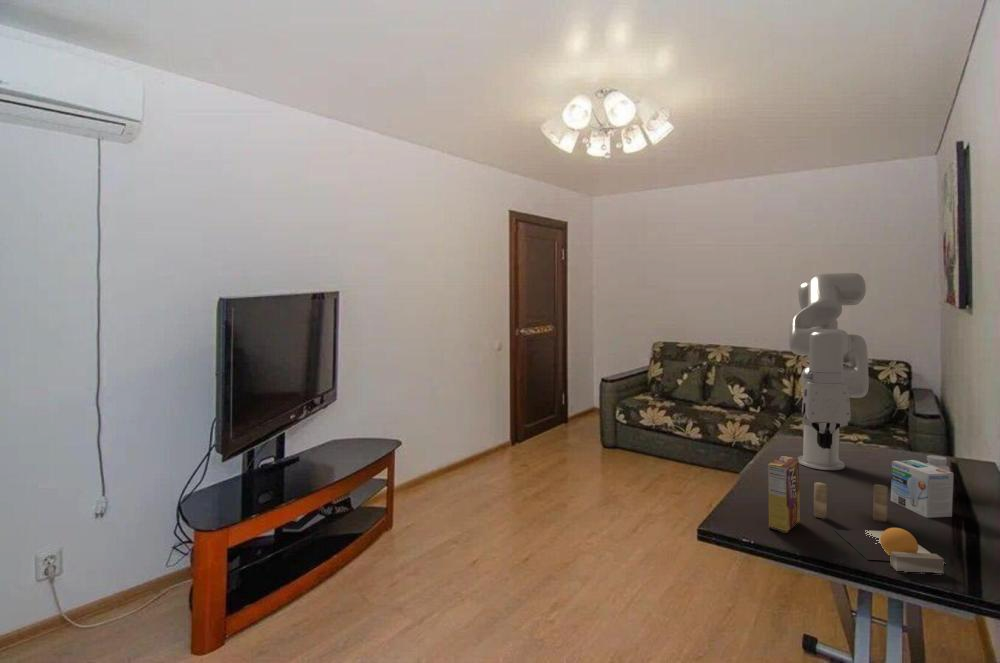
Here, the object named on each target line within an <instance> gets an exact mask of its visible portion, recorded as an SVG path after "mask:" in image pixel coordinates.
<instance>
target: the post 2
mask: <svg viewBox="0 0 1000 663" xmlns="http://www.w3.org/2000/svg"><path fill="white" fill-rule="evenodd" d="M888 489H889V488H888V486H886V485H884V484H874V485H873V503H872V504H873V505H872V506H873V508H872V509H873V510H872V519H873V520H874V519H875V521H876V520H877V522H880V523H881V522H882V523H886V522H887V521H888V520H887V519H888Z"/></svg>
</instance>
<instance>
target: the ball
mask: <svg viewBox="0 0 1000 663" xmlns="http://www.w3.org/2000/svg"><path fill="white" fill-rule="evenodd" d="M883 531H884V532H883V533H882V535H881V537H880V543H881V546H882V548H883V549H884V551H885V552H886V553H887V554H888V555H890V552H908V553H917V551H918V545H919V544H918V542H917V539H916V538H915V537H914V536H913V534H912V533H910V532H909V531H908V530H905V529H904V528H901V527H889V528H886V529H885V530H883Z"/></svg>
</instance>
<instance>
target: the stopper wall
mask: <svg viewBox="0 0 1000 663" xmlns="http://www.w3.org/2000/svg"><path fill="white" fill-rule="evenodd" d="M944 561H945V559H944V558H943V557H942V556H940V555H938V554H937V553H931V554H927V553H908V552H890V563H889V564H890V565H891V566H892V567H893V568H894V569H895V570H896V571H904V572H903V573H907V572H921V573H920V574H923V573H922V572H934V573H943V574H944V563H945V562H944ZM890 565H889V566H890ZM894 569H893V570H894ZM895 570H894V571H895ZM896 571H895V572H896Z"/></svg>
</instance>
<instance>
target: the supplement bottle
mask: <svg viewBox="0 0 1000 663" xmlns="http://www.w3.org/2000/svg"><path fill="white" fill-rule="evenodd" d="M926 461H927V462H926V463H925V462H924V463H925V464H928V465H931V466H934V467H937V468H940V469H943V470H946V471H949V472H951V469H950V467H949V466H948V465H947V464H948V463H947V462H948V459H947V457H945V456H942V455H936V454H935V455H934V454H928V455H926Z"/></svg>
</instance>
